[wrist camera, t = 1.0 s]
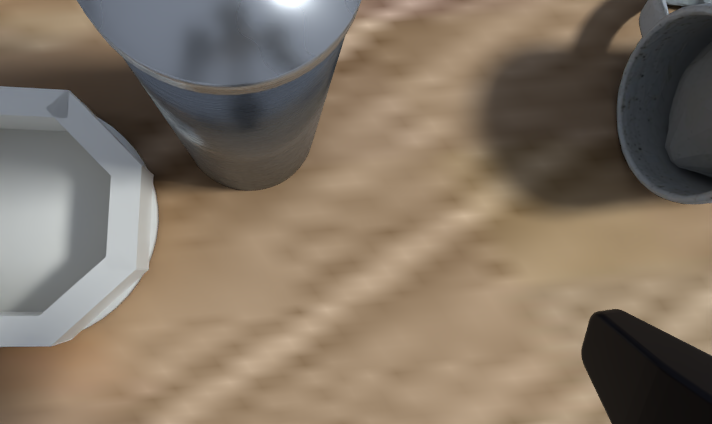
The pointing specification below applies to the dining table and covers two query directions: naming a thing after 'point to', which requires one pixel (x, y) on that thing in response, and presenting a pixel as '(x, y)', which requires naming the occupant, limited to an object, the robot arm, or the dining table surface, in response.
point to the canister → (233, 75)
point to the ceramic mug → (670, 102)
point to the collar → (67, 217)
